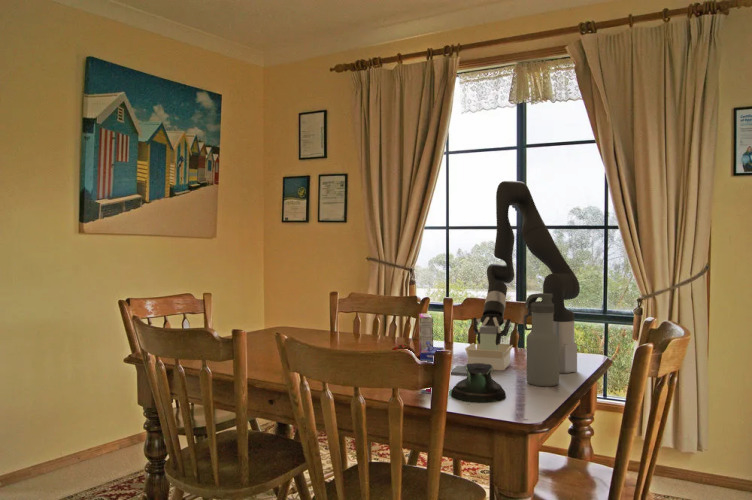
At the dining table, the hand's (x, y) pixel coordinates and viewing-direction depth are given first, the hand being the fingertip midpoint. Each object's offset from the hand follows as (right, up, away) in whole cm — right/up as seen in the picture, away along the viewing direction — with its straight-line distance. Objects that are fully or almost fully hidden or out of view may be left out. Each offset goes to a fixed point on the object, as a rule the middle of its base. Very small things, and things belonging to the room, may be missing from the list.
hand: (488, 343), depth 215 cm
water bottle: (+12, -9, -25) cm, 29 cm away
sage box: (+1, -8, +2) cm, 8 cm away
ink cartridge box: (-23, -9, -32) cm, 40 cm away
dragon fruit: (-31, -9, +3) cm, 32 cm away
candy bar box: (-21, -8, +17) cm, 28 cm away
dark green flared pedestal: (-10, -10, -40) cm, 42 cm away
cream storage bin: (+1, -8, +2) cm, 8 cm away
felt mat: (-8, -8, -9) cm, 14 cm away
